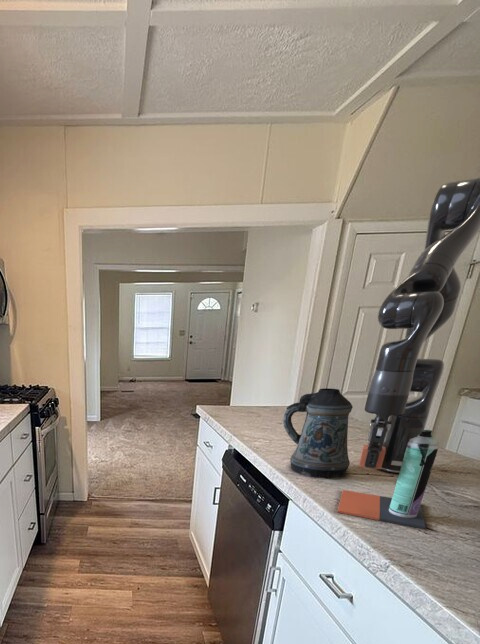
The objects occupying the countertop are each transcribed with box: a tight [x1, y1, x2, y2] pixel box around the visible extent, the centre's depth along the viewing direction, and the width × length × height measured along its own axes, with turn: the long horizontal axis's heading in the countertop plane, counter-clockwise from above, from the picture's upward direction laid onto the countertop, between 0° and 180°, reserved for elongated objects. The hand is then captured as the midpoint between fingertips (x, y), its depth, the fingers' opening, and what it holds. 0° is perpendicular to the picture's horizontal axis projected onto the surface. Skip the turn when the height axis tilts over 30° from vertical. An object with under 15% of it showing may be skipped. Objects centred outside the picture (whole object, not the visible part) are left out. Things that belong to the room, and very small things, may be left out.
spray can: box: [389, 429, 440, 518], centre depth 92 cm, size 6×6×20 cm
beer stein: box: [282, 387, 354, 479], centre depth 122 cm, size 16×19×25 cm
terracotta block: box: [358, 444, 386, 470], centre depth 95 cm, size 4×4×4 cm
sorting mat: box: [337, 489, 426, 530], centre depth 99 cm, size 16×17×1 cm
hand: (370, 464), depth 96 cm, fingers closed on terracotta block, 4 cm apart
